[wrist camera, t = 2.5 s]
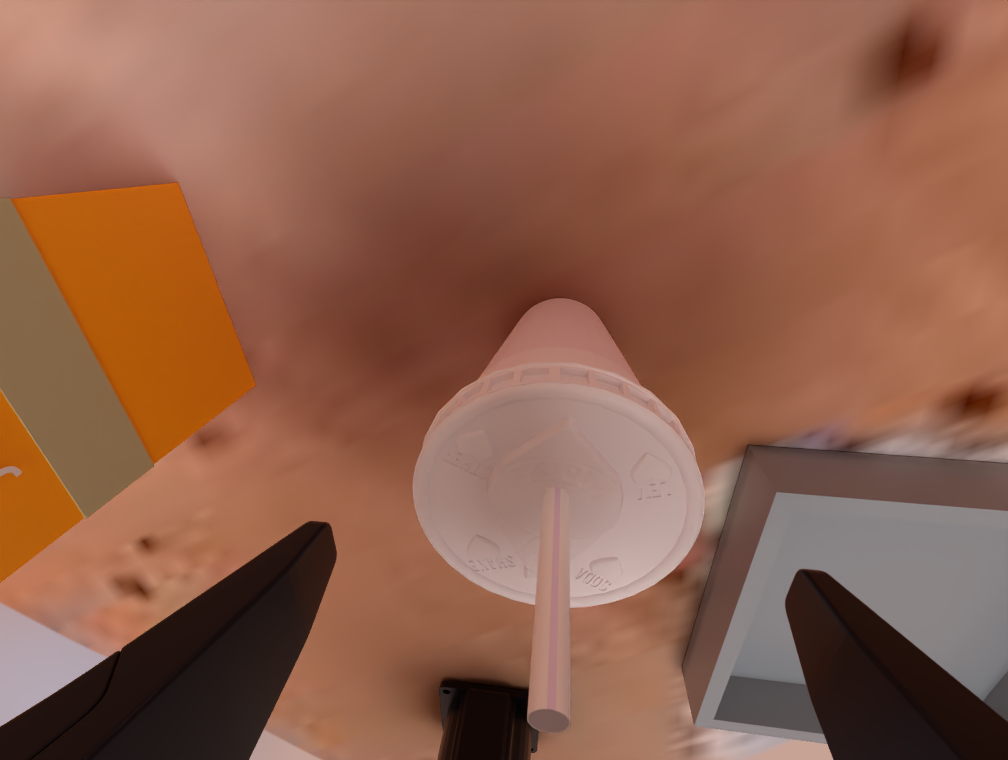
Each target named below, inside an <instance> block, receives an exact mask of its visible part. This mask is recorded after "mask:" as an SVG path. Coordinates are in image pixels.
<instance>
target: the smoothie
mask: <svg viewBox="0 0 1008 760" xmlns="http://www.w3.org/2000/svg"><path fill="white" fill-rule="evenodd" d="M412 490H413V501H414V507H415V511H416V514H417V517H418V521H419V523H420V525H421V527H422V530H423V531H424V533H425V535H426V537H427V538H428V540H429V541H430V543H431V544H432V546H433V547H434V549H435V550H436V551H437V552H438V553H439V554H440V556H441V557H442V558H443V559H444V560H445V561H446V562H447V563H448V564H449V565H450V566H451V567H453V568H454V569H455V570H457V571H458V572H459V573H460V574H462V575H463V576H464V577H466V578H467V579H468V580H470V581H472V582H474V583H475V584H477V585H479V586H481V587H483V588H485V589H486V590H488V591H490V592H493V593H495V594H498V595H501V596H503V597H506V598H509V599H511V600H515V601H519V602H523V603H528V604H532V605H535V613H534V627H533V641H532V655H531V669H530V683H529V697H528V711H527V721H528V723H529V724H530V725H531V726H532V727H533V728H535V729H537V730H539V731H542V732H546V733H560V732H563V731H565V730H567V729H568V728H569V727H570V723H571V712H570V608H574V607H589V606H595V605H601V604H607V603H611V602H614V601H617V600H621V599H624V598H627V597H630V596H633V595H635V594H637V593H639V592H641V591H643V590H645V589H647V588H649V587H650V586H652V585H654V584H656V583H657V582H658V581H660V580H661V579H663V578H664V577H665V576H667V575H668V574H669V573H670V572H671V571H673V570H674V569H675V568H676V567H677V566H678V565H679V564H680V563H681V562H682V560H683V559H684V558H685V556H686V555H687V554H688V553H689V551H690V549H691V548H692V546H693V545H694V543H695V541H696V539H697V536H698V534H699V532H700V529H701V526H702V522H703V517H704V511H705V492H704V485H703V481H702V476H701V473H700V471H699V468H698V465H697V463H696V458H695V452H694V446H693V445H692V443H691V441H690V439H689V437H688V436H687V434H686V432H685V430H684V428H683V426H682V425H681V423H680V421H679V419H678V417H677V416H676V415H675V414H674V413H673V412H672V411H671V410H670V409H668V408H667V407H666V406H665V405H664V404H663V403H662V402H661V401H660V400H659V399H658V398H657V397H656V396H655V395H654V394H653V393H652V392H651V391H649V390H647V389H645V388H644V387H642V386H641V385H640V383H639V381H638V380H637V378H636V376H635V375H634V373H633V372H632V370H631V368H630V367H629V365H628V363H627V362H626V360H625V359H624V357H623V355H622V354H621V352H620V350H619V349H618V347H617V346H616V344H615V342H614V341H613V339H612V337H611V336H610V334H609V333H608V331H607V329H606V328H605V326H604V325H603V323H602V321H601V320H600V318H599V317H598V315H597V314H596V313H595V312H594V311H593V310H592V309H591V308H589V307H588V306H586V305H585V304H583V303H581V302H578V301H576V300H572V299H566V298H555V299H549V300H545V301H542V302H540V303H538V304H536V305H534V306H533V307H531V308H530V309H529V310H528V311H527V312H526V313H525V314H524V315H523V316H522V318H521V319H520V320H519V322H518V323H517V325H516V326H515V327H514V329H513V330H512V332H511V333H510V335H509V336H508V337H507V339H506V340H505V342H504V343H503V344H502V346H501V347H500V349H499V350H498V352H497V353H496V354H495V356H494V357H493V359H492V360H491V361H490V363H489V364H488V366H487V367H486V369H485V370H484V371H483V373H482V374H481V376H480V377H479V378H478V380H477V381H475V382H473V383H471V384H469V385H467V386H465V387H464V388H462V389H461V390H460V391H459V392H458V393H457V394H456V395H455V396H454V397H453V398H452V399H451V400H450V401H449V402H448V403H447V404H446V405H445V406H444V407H443V408H441V409H440V410H439V411H438V413H437V415H436V417H435V419H434V421H433V423H432V425H431V426H430V428H429V430H428V432H427V434H426V436H425V438H424V442H423V448H422V450H421V452H420V454H419V456H418V459H417V463H416V466H415V470H414V475H413V487H412Z"/></svg>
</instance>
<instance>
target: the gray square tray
mask: <svg viewBox="0 0 1008 760" xmlns="http://www.w3.org/2000/svg"><path fill="white" fill-rule="evenodd" d="M800 569H812V570H821V571H824V572H826V573H828V574H829V575H830V576H832V577H833V578H834V579H835V580H836V581H838V582H839V583H840V584H841V585H843V586H844V587H845V588H846V589H847V590H849V591H850V592H851V593H852V594H853V595H855V596H856V597H857V598H858V599H860V600H861V601H862V602H863V603H864V604H866V605H867V606H868V607H869V608H870V609H872V610H873V611H874V612H875V613H877V614H878V615H879V616H880V617H881V618H883V619H884V620H885V621H886V622H887V623H889V624H890V625H891V626H892V627H894V628H895V629H896V630H897V631H898V632H900V633H901V634H902V635H903V636H904V637H906V638H907V639H908V640H909V641H911V642H912V643H913V644H914V645H915V646H917V647H918V648H919V649H920V650H922V651H923V652H924V653H925V654H926V655H928V656H929V657H930V658H931V659H932V660H934V661H935V662H936V663H937V664H939V665H940V666H941V667H942V668H943V669H945V670H946V671H947V672H948V673H949V674H951V675H952V676H953V677H954V678H956V679H957V680H958V681H959V682H960V683H962V684H963V685H964V686H965V687H966V688H968V689H969V690H970V691H971V692H973V693H974V694H975V695H976V696H977V697H979V698H980V699H981V700H982V701H983V702H985V703H986V704H987V705H988V706H990V707H991V708H992V709H993V710H994V711H996V712H997V713H998V714H999V715H1001V716H1002V717H1003V718H1004V719H1005V720H1007V721H1008V464H1006V463H992V462H978V461H964V460H950V459H936V458H922V457H908V456H894V455H880V454H866V453H852V452H838V451H824V450H811V449H797V448H783V447H769V446H755V445H748V447H747V451H746V454H745V457H744V461H743V464H742V467H741V471H740V474H739V478H738V481H737V484H736V488H735V491H734V494H733V498H732V501H731V504H730V508H729V511H728V514H727V518H726V521H725V524H724V528H723V531H722V534H721V538H720V541H719V545H718V548H717V551H716V555H715V558H714V561H713V565H712V568H711V571H710V575H709V578H708V581H707V585H706V588H705V591H704V595H703V598H702V601H701V605H700V608H699V612H698V615H697V618H696V622H695V625H694V628H693V632H692V635H691V638H690V642H689V645H688V648H687V652H686V655H685V658H684V662H683V665H682V672H683V677H684V681H685V686H686V690H687V695H688V700H689V704H690V709H691V713H692V718H693V723H694V726H699V727H706V728H713V729H721V730H728V731H736V732H743V733H750V734H758V735H765V736H773V737H780V738H787V739H795V740H802V741H810V742H817V743H824V744H827V741H826V739H825V736H824V734H823V731H822V728H821V726H820V723H819V721H818V718H817V716H816V713H815V710H814V707H813V705H812V702H811V699H810V695H809V692H808V689H807V686H806V682H805V679H804V675H803V671H802V668H801V664H800V661H799V657H798V654H797V650H796V646H795V643H794V639H793V636H792V632H791V629H790V625H789V621H788V618H787V614H786V610H785V599H786V596H787V593H788V591H789V588H790V586H791V583H792V581H793V579H794V576H795V574H796V572H797V571H798V570H800Z"/></svg>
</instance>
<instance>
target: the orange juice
mask: <svg viewBox="0 0 1008 760" xmlns="http://www.w3.org/2000/svg"><path fill="white" fill-rule="evenodd" d="M254 386H256V384H255V381H254V379H253V376H252V373H251V371H250V368H249V366H248V363H247V360H246V358H245V355H244V353H243V350H242V347H241V345H240V342H239V340H238V337H237V334H236V332H235V329H234V327H233V324H232V321H231V319H230V316H229V314H228V311H227V308H226V306H225V303H224V301H223V298H222V295H221V293H220V290H219V288H218V285H217V282H216V280H215V277H214V275H213V272H212V269H211V267H210V264H209V262H208V259H207V256H206V254H205V251H204V248H203V246H202V243H201V241H200V238H199V235H198V233H197V230H196V228H195V225H194V222H193V220H192V217H191V215H190V212H189V209H188V207H187V204H186V202H185V199H184V196H183V194H182V191H181V189H180V186H179V183H169V184H158V185H148V186H138V187H128V188H118V189H107V190H97V191H87V192H77V193H67V194H56V195H46V196H36V197H26V198H16V199H10V198H9V197H7V198H0V583H1V582H2V581H3V580H5V579H6V578H7V577H8V576H10V575H11V574H12V573H14V572H15V571H16V570H18V569H19V568H20V567H21V566H23V565H24V564H25V563H27V562H28V561H29V560H30V559H32V558H33V557H34V556H36V555H37V554H38V553H40V552H41V551H42V550H43V549H45V548H46V547H47V546H49V545H50V544H51V543H52V542H54V541H55V540H56V539H58V538H59V537H60V536H62V535H63V534H64V533H65V532H67V531H68V530H69V529H71V528H72V527H73V526H74V525H76V524H77V523H78V522H80V521H81V520H82V519H87V518H88V517H89V516H91V515H92V514H93V513H94V512H96V511H97V510H98V509H100V508H101V507H102V506H103V505H105V504H106V503H107V502H109V501H110V500H111V499H112V498H114V497H115V496H116V495H118V494H119V493H120V492H121V491H123V490H124V489H125V488H127V487H128V486H129V485H130V484H132V483H133V482H134V481H136V480H137V479H138V478H139V477H141V476H142V475H143V474H145V473H146V472H147V471H148V470H150V469H151V468H152V467H154V464H155V463H156V462H157V461H159V460H160V459H161V458H162V457H164V456H165V455H166V454H168V453H169V452H170V451H172V450H173V449H174V448H175V447H177V446H178V445H179V444H181V443H182V442H183V441H184V440H186V439H187V438H188V437H190V436H191V435H192V434H194V433H195V432H196V431H197V430H199V429H200V428H201V427H203V426H204V425H205V424H206V423H208V422H209V421H210V420H212V419H213V418H214V417H216V416H217V415H218V414H219V413H221V412H222V411H223V410H225V409H226V408H227V407H228V406H230V405H231V404H232V403H234V402H235V401H236V400H238V399H239V398H240V397H241V396H243V395H244V394H245V393H247V392H248V391H249V390H250V389H252V388H253V387H254Z"/></svg>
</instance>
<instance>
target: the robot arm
mask: <svg viewBox="0 0 1008 760" xmlns="http://www.w3.org/2000/svg"><path fill="white" fill-rule="evenodd" d="M336 556H337V551H336V546H335V541H334V537H333V532H332V528H331V526H330V524H329V523H327V522H318V521H309V522H307V523H305V524H304V525H302V526H301V527H299V528H298V529H296V530H295V531H293V532H292V533H290V534H289V535H287V536H286V537H285V538H283V539H282V540H280V541H279V542H277V543H276V544H274V545H273V546H271V547H270V548H268V549H267V550H265V551H264V552H262V553H261V554H260V555H258V556H257V557H255V558H254V559H252V560H251V561H249V562H248V563H246V564H245V565H243V566H242V567H240V568H239V569H237V570H236V571H235V572H233V573H232V574H230V575H229V576H227V577H226V578H224V579H223V580H221V581H220V582H218V583H217V584H215V585H214V586H212V587H211V588H210V589H208V590H207V591H205V592H204V593H202V594H201V595H199V596H198V597H196V598H195V599H193V600H192V601H190V602H189V603H187V604H186V605H185V606H183V607H182V608H180V609H179V610H177V611H176V612H174V613H173V614H171V615H170V616H168V617H167V618H165V619H164V620H162V621H161V622H160V623H158V624H157V625H155V626H154V627H152V628H151V629H149V630H148V631H146V632H145V633H143V634H142V635H140V636H139V637H137V638H136V639H135V640H133V641H132V642H130V643H129V644H127V645H126V646H124V647H123V648H122V650H121V651H117V652H115V653H114V654H112V655H111V656H109V657H108V658H106V659H105V660H103V661H102V662H100V663H99V664H98V665H96V666H95V667H93V668H92V669H90V670H89V671H87V672H86V673H85V674H83V675H81V676H80V677H78V678H77V679H75V680H74V681H72V682H71V683H69V684H67V685H66V686H64V687H63V688H61V689H60V690H58V691H57V692H55V693H54V694H52V695H51V696H49V697H48V698H46V699H44V700H43V701H41V702H39V703H38V704H36V705H35V706H33V707H31V708H30V709H28V710H26V711H25V712H23V713H22V714H20V715H19V716H17V717H15V718H14V719H12V720H10V721H9V722H7V723H6V724H4V725H2V726H1V727H0V760H249V758H250V756H251V754H252V752H253V750H254V748H255V746H256V744H257V742H258V740H259V738H260V736H261V733H262V732H263V729H264V727H265V725H266V723H267V721H268V719H269V717H270V715H271V713H272V711H273V709H274V707H275V705H276V703H277V700H278V698H279V696H280V694H281V692H282V690H283V688H284V686H285V684H286V682H287V680H288V678H289V676H290V674H291V672H292V669H293V667H294V665H295V663H296V661H297V659H298V657H299V655H300V653H301V651H302V649H303V646H304V644H305V642H306V640H307V638H308V635H309V633H310V630H311V628H312V625H313V622H314V620H315V617H316V614H317V611H318V609H319V606H320V603H321V601H322V598H323V595H324V592H325V590H326V587H327V584H328V581H329V579H330V576H331V573H332V571H333V568H334V565H335V562H336ZM785 610H786V614H787V618H788V621H789V625H790V629H791V632H792V636H793V639H794V643H795V646H796V650H797V654H798V657H799V661H800V664H801V668H802V671H803V675H804V679H805V682H806V686H807V689H808V692H809V695H810V699H811V702H812V705H813V707H814V710H815V713H816V716H817V718H818V721H819V723H820V726H821V728H822V731H823V734H824V736H825V739H826V741H827V744H828V746H829V749H830V752H831V754H832V757H833V759H834V760H1008V721H1007V720H1005V719H1004V718H1003V717H1002V716H1001V715H999V714H998V713H997V712H996V711H994V710H993V709H992V708H991V707H990V706H988V705H987V704H986V703H985V702H983V701H982V700H981V699H980V698H979V697H977V696H976V695H975V694H974V693H973V692H971V691H970V690H969V689H968V688H966V687H965V686H964V685H963V684H962V683H960V682H959V681H958V680H957V679H956V678H954V677H953V676H952V675H951V674H949V673H948V672H947V671H946V670H945V669H943V668H942V667H941V666H940V665H939V664H937V663H936V662H935V661H934V660H932V659H931V658H930V657H929V656H928V655H926V654H925V653H924V652H923V651H922V650H920V649H919V648H918V647H917V646H915V645H914V644H913V643H912V642H911V641H909V640H908V639H907V638H906V637H904V636H903V635H902V634H901V633H900V632H898V631H897V630H896V629H895V628H894V627H892V626H891V625H890V624H889V623H887V622H886V621H885V620H884V619H883V618H881V617H880V616H879V615H878V614H877V613H875V612H874V611H873V610H872V609H870V608H869V607H868V606H867V605H866V604H864V603H863V602H862V601H861V600H860V599H858V598H857V597H856V596H855V595H853V594H852V593H851V592H850V591H849V590H847V589H846V588H845V587H844V586H843V585H841V584H840V583H839V582H838V581H836V580H835V579H834V578H833V577H832V576H830V575H829V574H828V573H826V572H824V571H821V570H812V569H800V570H798V571H797V572H796V574H795V576H794V579H793V581H792V583H791V586H790V588H789V591H788V593H787V596H786V599H785ZM439 695H440V705H441V715H442V724H443V736H442V740H441V745H440V750H439V754H438V759H437V760H530V758H531V753H535V752H536V751H537V742H538V730H537V729H535V728H533V727H532V726H531V725H530V724H529V723H528V721H527V711H528V697H529V692H528V691H521V690H513V689H506V688H498V687H491V686H483V685H476V684H468V683H460V682H453V681H442V682H441V685H440V689H439Z"/></svg>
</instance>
